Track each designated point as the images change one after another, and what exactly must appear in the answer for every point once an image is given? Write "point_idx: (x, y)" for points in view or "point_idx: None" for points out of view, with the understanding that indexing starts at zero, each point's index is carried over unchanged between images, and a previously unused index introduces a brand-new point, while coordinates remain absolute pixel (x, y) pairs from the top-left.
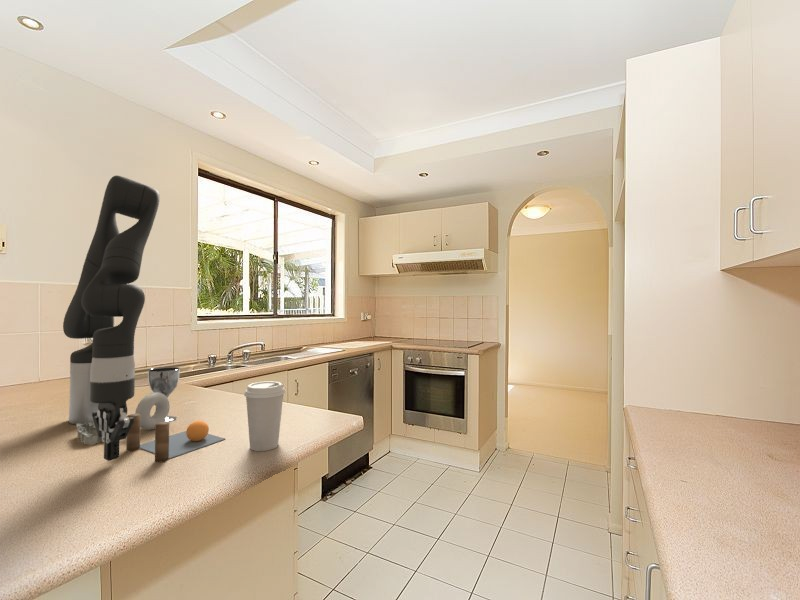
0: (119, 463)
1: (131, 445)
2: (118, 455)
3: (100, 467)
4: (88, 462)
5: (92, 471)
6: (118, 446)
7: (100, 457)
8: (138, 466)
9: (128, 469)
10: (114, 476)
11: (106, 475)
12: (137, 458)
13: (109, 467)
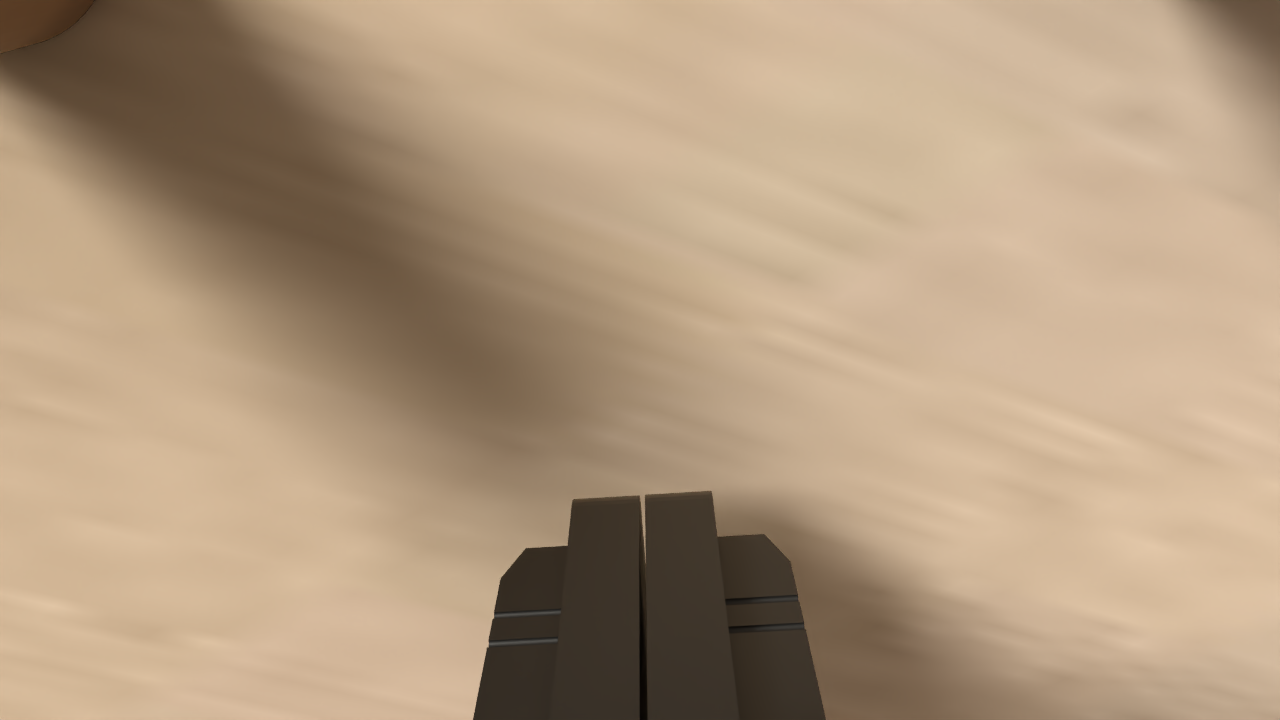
0: (644, 383)
1: (37, 7)
2: (711, 510)
3: None
4: (177, 628)
5: None
6: (810, 677)
7: (57, 462)
8: (1095, 251)
9: (1059, 397)
10: (1124, 601)
11: (976, 645)
12: (669, 95)
13: None
